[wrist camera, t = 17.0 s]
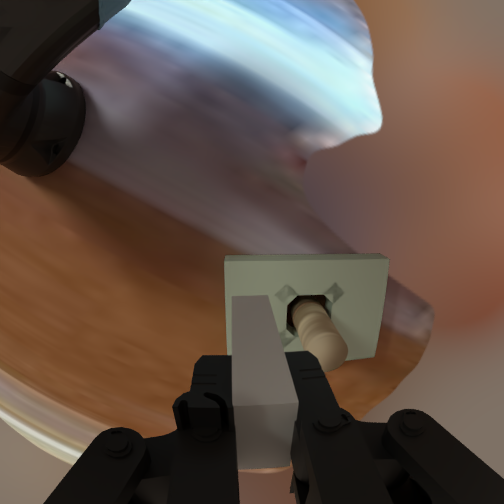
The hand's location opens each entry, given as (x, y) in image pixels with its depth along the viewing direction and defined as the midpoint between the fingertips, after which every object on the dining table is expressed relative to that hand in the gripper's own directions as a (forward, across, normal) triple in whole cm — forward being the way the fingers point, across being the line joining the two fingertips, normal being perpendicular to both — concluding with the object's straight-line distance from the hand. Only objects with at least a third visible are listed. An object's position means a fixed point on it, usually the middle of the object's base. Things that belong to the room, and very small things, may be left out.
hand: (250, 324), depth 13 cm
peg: (+24, +8, -10) cm, 27 cm away
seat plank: (+24, +8, -10) cm, 27 cm away
